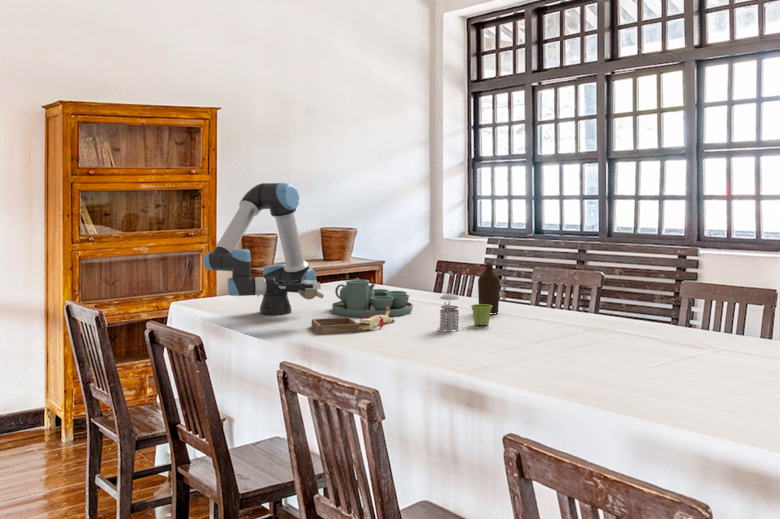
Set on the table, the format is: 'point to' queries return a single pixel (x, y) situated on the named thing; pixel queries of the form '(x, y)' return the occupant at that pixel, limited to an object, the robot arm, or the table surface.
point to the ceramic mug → (309, 292)
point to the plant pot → (481, 313)
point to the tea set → (369, 300)
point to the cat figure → (376, 320)
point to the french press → (449, 313)
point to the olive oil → (489, 288)
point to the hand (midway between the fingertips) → (318, 284)
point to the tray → (335, 325)
